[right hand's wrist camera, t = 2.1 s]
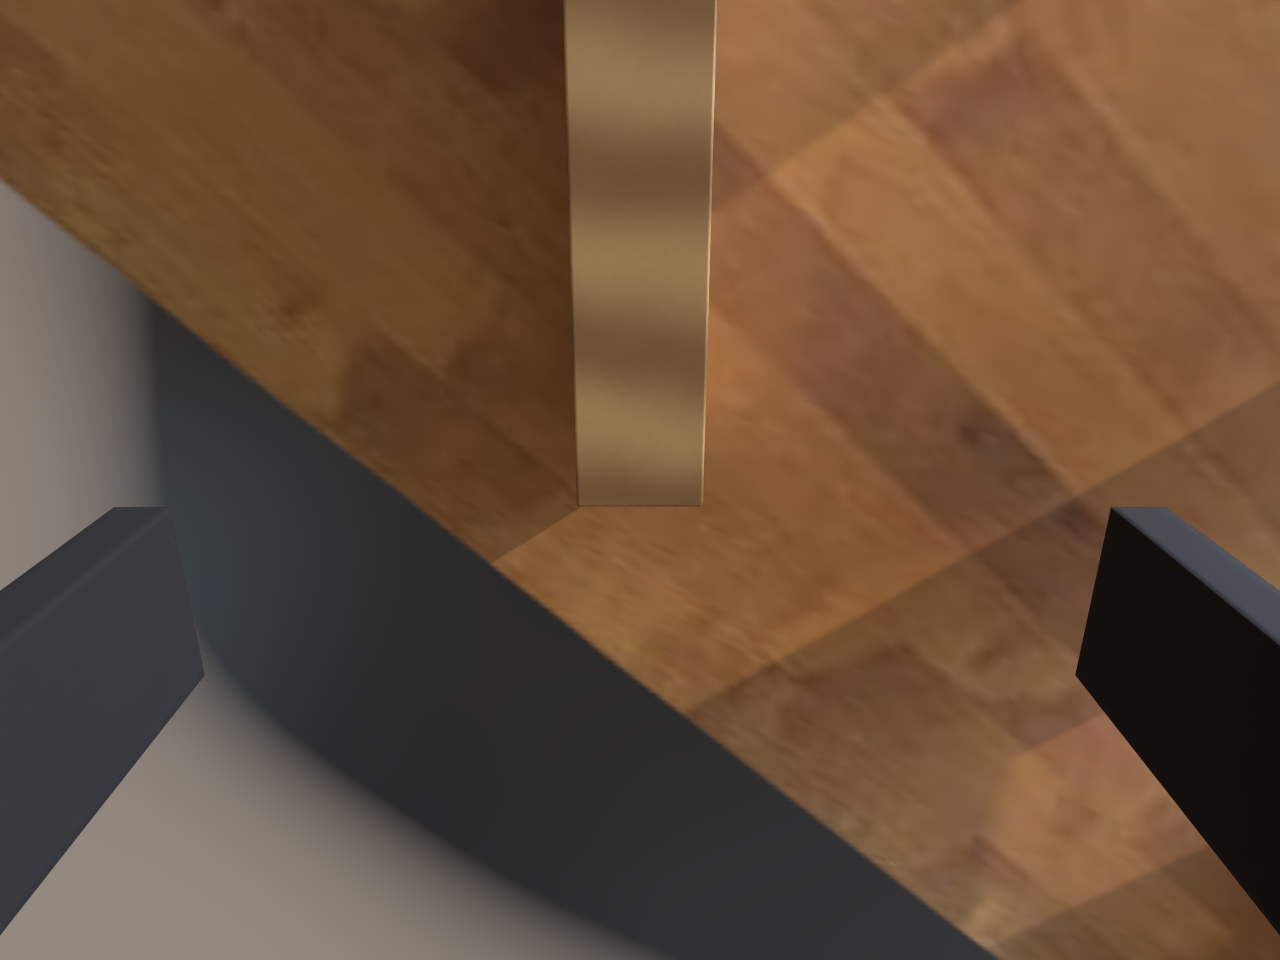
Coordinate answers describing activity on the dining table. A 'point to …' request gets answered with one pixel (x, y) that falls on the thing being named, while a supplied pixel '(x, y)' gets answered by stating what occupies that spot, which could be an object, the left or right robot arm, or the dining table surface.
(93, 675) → the right robot arm
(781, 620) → the dining table surface
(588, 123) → the post
